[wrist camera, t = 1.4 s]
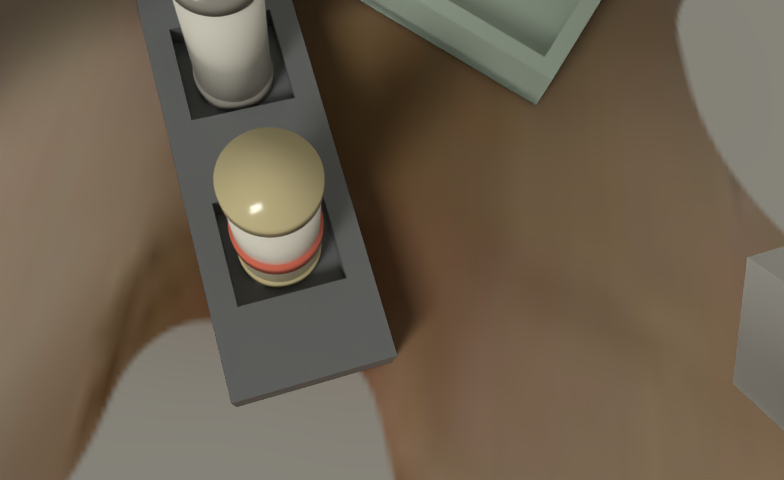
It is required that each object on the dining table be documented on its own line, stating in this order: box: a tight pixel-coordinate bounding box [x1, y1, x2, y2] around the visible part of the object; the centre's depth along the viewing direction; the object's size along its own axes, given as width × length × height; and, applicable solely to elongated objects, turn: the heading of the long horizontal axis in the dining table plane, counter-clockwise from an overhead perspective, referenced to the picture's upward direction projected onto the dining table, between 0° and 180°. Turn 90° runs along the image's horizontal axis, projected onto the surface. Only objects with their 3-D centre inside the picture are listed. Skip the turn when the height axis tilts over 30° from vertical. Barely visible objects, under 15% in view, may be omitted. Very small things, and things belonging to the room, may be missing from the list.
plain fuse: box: [173, 0, 274, 112], centre depth 36 cm, size 4×4×10 cm
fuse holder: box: [136, 0, 397, 407], centre depth 39 cm, size 24×8×2 cm, turn 17°
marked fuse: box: [213, 127, 325, 289], centre depth 33 cm, size 4×4×10 cm
